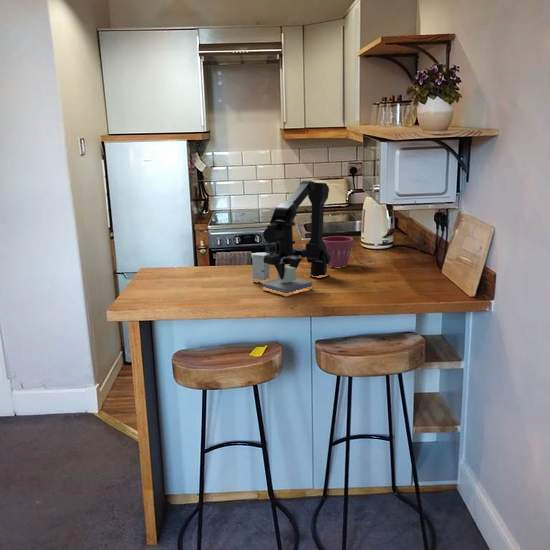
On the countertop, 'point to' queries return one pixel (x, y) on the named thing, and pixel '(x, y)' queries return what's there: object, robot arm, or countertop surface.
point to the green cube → (288, 274)
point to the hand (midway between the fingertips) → (286, 277)
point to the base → (287, 285)
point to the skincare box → (260, 266)
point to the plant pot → (338, 250)
